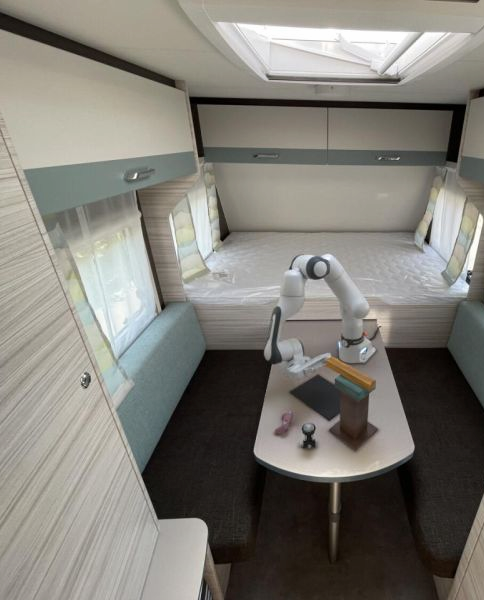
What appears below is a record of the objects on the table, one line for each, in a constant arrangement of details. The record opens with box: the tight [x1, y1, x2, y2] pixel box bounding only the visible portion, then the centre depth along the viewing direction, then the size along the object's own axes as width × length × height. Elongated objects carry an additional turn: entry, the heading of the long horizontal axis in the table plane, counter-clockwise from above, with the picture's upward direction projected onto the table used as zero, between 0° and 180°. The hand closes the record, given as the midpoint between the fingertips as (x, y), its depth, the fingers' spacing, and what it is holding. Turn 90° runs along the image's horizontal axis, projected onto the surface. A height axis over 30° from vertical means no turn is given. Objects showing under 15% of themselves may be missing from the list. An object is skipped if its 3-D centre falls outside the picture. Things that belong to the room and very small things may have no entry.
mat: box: [290, 374, 340, 421], centre depth 153 cm, size 18×26×1 cm
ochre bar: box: [325, 356, 376, 391], centre depth 124 cm, size 4×22×3 cm, turn 47°
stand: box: [329, 366, 378, 452], centre depth 128 cm, size 14×14×26 cm
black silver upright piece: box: [298, 422, 317, 449], centre depth 125 cm, size 7×5×10 cm
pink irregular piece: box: [274, 410, 295, 435], centre depth 134 cm, size 10×5×7 cm, turn 168°
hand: (322, 364), depth 135 cm, fingers open, 8 cm apart
